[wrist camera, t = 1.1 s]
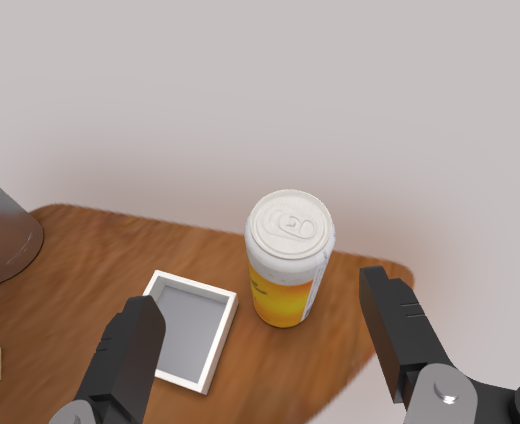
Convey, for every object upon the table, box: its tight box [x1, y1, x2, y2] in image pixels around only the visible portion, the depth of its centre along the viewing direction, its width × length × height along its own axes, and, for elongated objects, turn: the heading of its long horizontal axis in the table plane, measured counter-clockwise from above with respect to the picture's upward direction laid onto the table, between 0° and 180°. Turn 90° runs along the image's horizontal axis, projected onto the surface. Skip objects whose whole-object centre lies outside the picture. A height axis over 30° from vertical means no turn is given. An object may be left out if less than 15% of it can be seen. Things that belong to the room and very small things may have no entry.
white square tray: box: [142, 270, 239, 395], centre depth 29 cm, size 9×9×3 cm
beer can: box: [245, 189, 335, 328], centre depth 26 cm, size 6×6×15 cm
